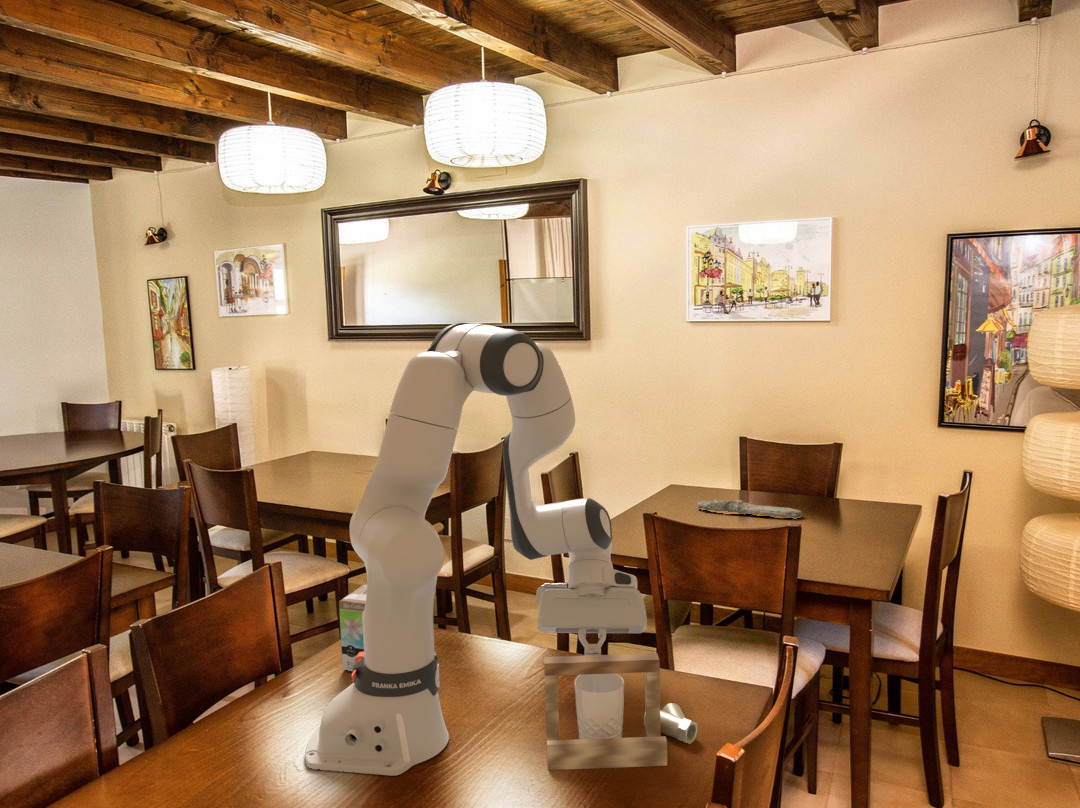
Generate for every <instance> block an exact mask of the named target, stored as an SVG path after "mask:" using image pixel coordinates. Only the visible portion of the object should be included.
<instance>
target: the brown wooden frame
mask: <svg viewBox="0 0 1080 808" xmlns="http://www.w3.org/2000/svg"><path fill="white" fill-rule="evenodd" d="M543 662H544V663H543V664H544V665H543V667H544V668H543V670H544V694H545V695H544V698H545V725H546V726H545V727H546V729H545V730H546V756H547V759H546V760H547V770H548V771H556V770H558V771H559V770H582V769H583V770H585V769H586V770H587V769H610V768H611V769H613V768H617V769H618V768H636V767H637V768H639V767H640V768H641V767H643V768H644V767H665V766H666V767H667V766H668V739H667V735H666V736H664V735H663V736H662V733H661V723H660V709H661V680H660V679H661V677H660V676H661V675H660V673H661V671H660V670H661V669H660V668H661V667H660V665H661V664H660V657H659V655H658V653H657V652H647V653H621V654H616V653H615V654H601V655H587V656H585V655H564V656H543ZM613 673H616V674H637V673H638V674H639V673H640V674H641V673H644V694H645V695H644V697H645V698H644V701H645V704H644V705H645V708H644V709H645V712H646V727H645V736H636V737H635V736H633V737H622V738H604V739H579V738H577V739H560V717H559V716H560V715H559V684H558V683H559V682H558V678H559V677H558V676H576V675H577V676H579V675H585V674H613Z"/></svg>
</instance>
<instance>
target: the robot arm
mask: <svg viewBox="0 0 1080 808" xmlns="http://www.w3.org/2000/svg"><path fill="white" fill-rule="evenodd" d="M474 391H475V392H480V393H485V394H495V395H498V396H505V397H506V401H507V405H508V409H509V412H510V415H511V419H512V428H511V432H509V433H508V434H507V435H506V436H505V438H504V440H503V441H504V442H503V445H502V446H503V447H502V458H503V469H504V470H503V471H504V478H505V486H506V495H507V500H508V501H507V502H508V507H509V508H508V509H509V516H510V517H509V518H510V534H511V535H510V538H511V543H512V545H513V546H512V547H513V549H514V550H515V551H516V552H517V553H519V554H520V555H521V556H523V557H524V558H526V559H528V560H530V561H532V560H537V559H541V558H544V557H548V556H553V555H560V554H561V555H562V554H568V557H569V559H568V563H567V582H557V583H550V582H544V584H542V585H540V586H539V587H538V588H537V589H536V592H535V593H536V595H535V599H536V603H537V604H538V612H537V613H538V614H537V629H539V631H540V632H541V633H544V634H545V633H546V634H547V633H548V634H549V633H550V634H551V633H553V634H554V633H555V634H557V633H558V634H565V633H567V634H578V635H577V636H578V638H577V639H578V641H579V642H580V643H581V645H582V647H583V648H584V656H587V655H602V646H603V645H604V642H605V641H606V639H607V634H642V633H644V631H645V630H646V628H647V627H648V626H647V625H648V618H647V610H646V604H645V601H644V597H643V595H642V594H641V592H640V590H638V578H637V576H635V575H634V574H630V573H627V572H623V571H621V570H617V569H615V568H614V566H613V562H612V559H611V553H612V550H613V545H612V540H613V534H612V533H613V532H612V531H613V530H612V529H613V528H612V521H611V517H610V515H609V512H608V510H607V509H606V508H605V507H604V506H603V505H602V504H601V503H599V502H598V501H596V500H594V499H593V498H591V497H587V498H586V497H584V498H575V499H570V500H565V501H560V502H552V503H547V504H538V503H536V502H534V500H533V499H532V497H533V496H532V490H531V482H530V480H531V479H530V473H529V469H530V468H531V467H532V466H533V465H534V464H535V463H537V462H539V461H540V460H541V459H543V458H545V457H547V456H549V455H550V454H552V453H554V452H555V451H557V450H558V449H559V448H561V447H562V446H563V445H564V444H565V443H566V442H567V441H568V439H570V437H571V434H572V433H573V431H574V428H575V425H576V413H575V407H574V404H573V400H572V399H573V398H572V396H571V392H570V388H569V386H568V383H567V380H566V377H565V375H564V372H563V369H562V367H561V366H560V363H559V362H558V360H557V358H556V356H555V354H554V352H553V350H552V349H551V348H550V347H549V346H547V345H545V344H543V343H541V342H535V341H534V339H532V338H531V337H529V336H528V335H527V334H525V333H523V332H522V331H519V330H517V329H512V328H503V327H499V326H495V325H492V324H490V323H489V324H488V323H469V322H467V323H466V322H459V323H454V324H451V325H448V326H446V327H444V328H443V329H441V330H440V331H439V332H438V333H437V335H436V336H435V337H434V339H433V340H432V343H431V344H430V347H429V348H428V349H427V351H424V352H420V353H418V354H414V356H413V357H411V359H410V360H409V361H408V362H407V365H406V366H405V368H404V371H403V373H402V375H401V378H400V380H399V382H398V385H397V387H396V391H395V394H394V395H393V399H392V401H391V402H392V403H391V406H390V409H389V414H388V416H387V421H386V426H385V429H384V434H383V437H382V441H381V445H380V447H379V448H380V449H379V453H378V456H377V459H376V462H375V465H374V467H373V470H372V473H371V475H370V477H369V480H368V482H367V484H366V486H365V488H364V491H363V494H362V496H361V498H360V501H359V504H358V506H357V508H356V509H355V510H354V511H353V514H352V516H351V518H350V521H349V538H350V543H351V546H352V548H353V550H354V552H355V553H356V554H357V556H358V557H359V558H360V559H361V561H362V562H363V563H364V566H365V572H366V578H367V580H366V581H367V582H366V585H367V594H366V603H365V609H364V611H363V614H362V622H363V640H364V652H359V653H358V655H357V657H356V658H355V665H354V667H353V671H352V673H351V684H350V685H349V686H347V687H346V688H345V689H343V691H340V692H339V693H338V694H337V695H336V696H334V698H333V699H332V700H331V701H330V702H329V704H328V705H327V707H326V708H325V710H324V712H323V714H322V716H321V717H322V718H321V720H320V725H319V727H318V728H317V729H316V730H314V732H313V734H312V735H311V737H310V738H309V739H308V742H307V745H306V748H305V751H304V761H306V762H305V765H306V764H307V765H306V767H307V766H308V767H309V768H308V767H307V768H308V769H310V768H312V769H311V770H317V769H320V770H321V771H329V770H330V771H331V772H343V771H344V773H353V772H354V773H355V774H356V773H357V774H367V775H368V774H369V775H379V776H380V775H381V776H391V777H392V776H396V777H397V776H398V775H401V774H403V773H405V772H406V771H408V770H409V769H411V768H412V767H413V766H416V765H418V764H420V763H423V762H425V761H428V760H430V759H431V758H434V757H435V756H437V755H438V754H440V753H441V752H442V751H443V750H444V749H445V747H446V746H447V744H448V743H449V739H450V735H449V731H448V729H447V727H446V723H445V719H444V717H443V711H442V708H441V702H440V696H439V690H440V689H439V688H440V665H439V659H438V654H437V652H436V651H435V634H434V629H435V628H434V603H435V602H434V601H435V594H436V586H437V581H438V575H440V574H439V573H440V572H441V570H442V568H443V564H444V559H445V551H444V550H445V549H444V546H443V543H442V541H441V538H440V537H439V534H438V532H437V530H436V529H435V527H434V526H433V524H431V523H430V522H429V521H428V520H426V512H427V510H428V507H429V505H430V503H431V502H432V499H433V496H434V495H435V492H436V491H437V489H438V487H439V486H440V484H442V483H443V482H444V481H445V479H446V477H447V474H448V472H449V471H448V470H449V467H450V463H451V460H452V459H451V458H452V455H453V451H454V447H455V444H456V438H457V435H458V430H459V426H460V421H461V419H462V417H461V416H462V413H463V411H462V410H463V407H464V404H465V402H466V401H467V399H468V397H469V396H470V395H471V393H472V392H474ZM587 634H597V637H598V641H597V643H589V642H588V641H587V639H586V637H587ZM320 770H319V771H320Z"/></svg>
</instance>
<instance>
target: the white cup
mask: <svg viewBox="0 0 1080 808" xmlns="http://www.w3.org/2000/svg"><path fill="white" fill-rule="evenodd" d="M574 693H575V695H574V696H575V709H576V711H575V712H576V718H577V719H576V720H577V721H576V722H577V727H578V737H579V738H578V739H604V738H623V724H624V708H625V706H624V705H625V704H624V702H625V699H624V698H625V680H624V678H623V677H622V676H621V675H619V673H613V674H585V675H577V676H576V677H575V679H574Z"/></svg>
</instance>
